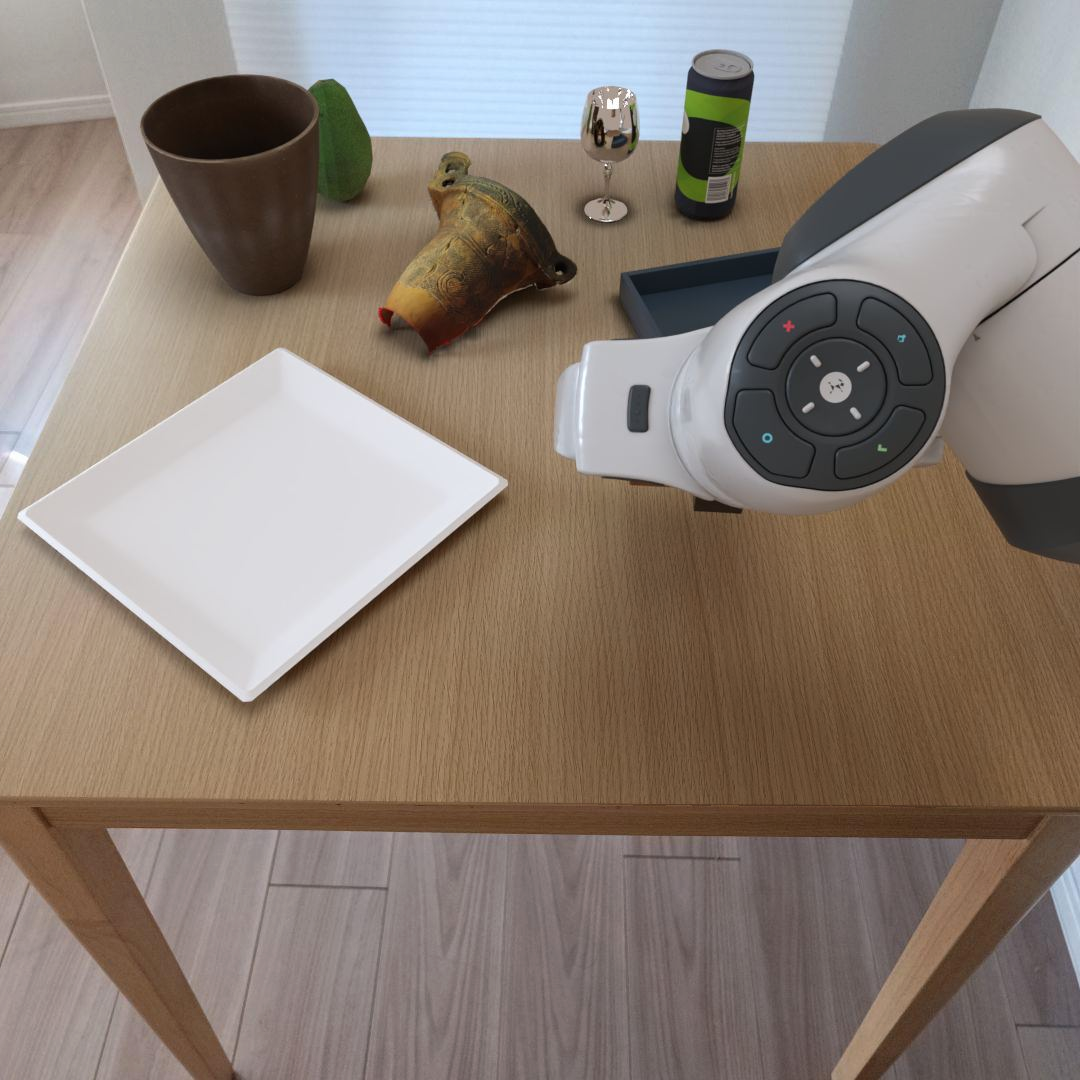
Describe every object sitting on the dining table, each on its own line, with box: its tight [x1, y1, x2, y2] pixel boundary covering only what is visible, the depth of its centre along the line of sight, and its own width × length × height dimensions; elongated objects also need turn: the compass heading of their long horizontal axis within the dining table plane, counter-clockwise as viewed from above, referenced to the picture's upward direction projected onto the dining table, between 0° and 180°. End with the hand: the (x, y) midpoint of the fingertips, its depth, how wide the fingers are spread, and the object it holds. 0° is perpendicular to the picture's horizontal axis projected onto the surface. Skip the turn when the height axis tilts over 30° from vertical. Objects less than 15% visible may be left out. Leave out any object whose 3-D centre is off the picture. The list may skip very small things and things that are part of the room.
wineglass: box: [579, 85, 641, 223], centre depth 108 cm, size 6×6×12 cm
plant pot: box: [139, 73, 319, 296], centre depth 99 cm, size 15×15×16 cm
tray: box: [618, 246, 781, 338], centre depth 99 cm, size 19×14×3 cm
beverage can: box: [674, 48, 755, 221], centre depth 108 cm, size 6×6×15 cm
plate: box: [16, 347, 509, 703], centre depth 83 cm, size 26×26×2 cm
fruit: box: [307, 78, 374, 203], centre depth 110 cm, size 8×8×12 cm
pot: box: [377, 151, 579, 355], centre depth 99 cm, size 17×11×18 cm
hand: (727, 430), depth 65 cm, fingers closed on pan, 3 cm apart
